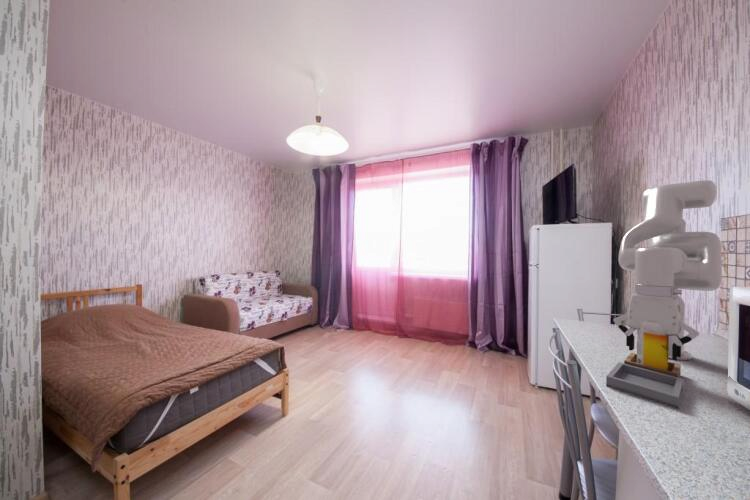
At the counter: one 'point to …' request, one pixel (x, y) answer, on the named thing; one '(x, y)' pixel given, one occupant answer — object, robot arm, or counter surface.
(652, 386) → the tray
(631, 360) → the collar
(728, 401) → the counter surface
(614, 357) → the counter surface
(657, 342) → the beer can
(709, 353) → the counter surface
